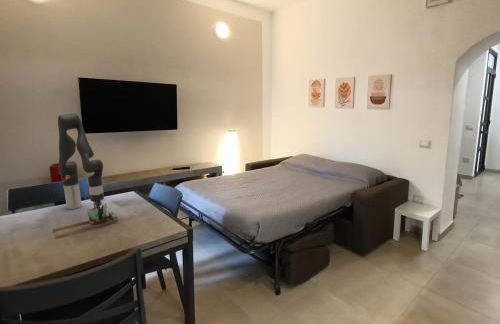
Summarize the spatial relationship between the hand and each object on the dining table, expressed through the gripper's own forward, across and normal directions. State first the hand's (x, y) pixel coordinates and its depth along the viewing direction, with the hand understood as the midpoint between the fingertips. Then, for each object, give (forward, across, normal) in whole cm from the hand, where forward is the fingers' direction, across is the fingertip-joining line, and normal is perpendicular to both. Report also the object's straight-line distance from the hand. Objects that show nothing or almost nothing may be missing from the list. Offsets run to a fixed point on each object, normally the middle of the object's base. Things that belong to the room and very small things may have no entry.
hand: (99, 218), depth 176 cm
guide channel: (+3, 0, -7) cm, 8 cm away
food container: (+3, +1, 0) cm, 3 cm away
